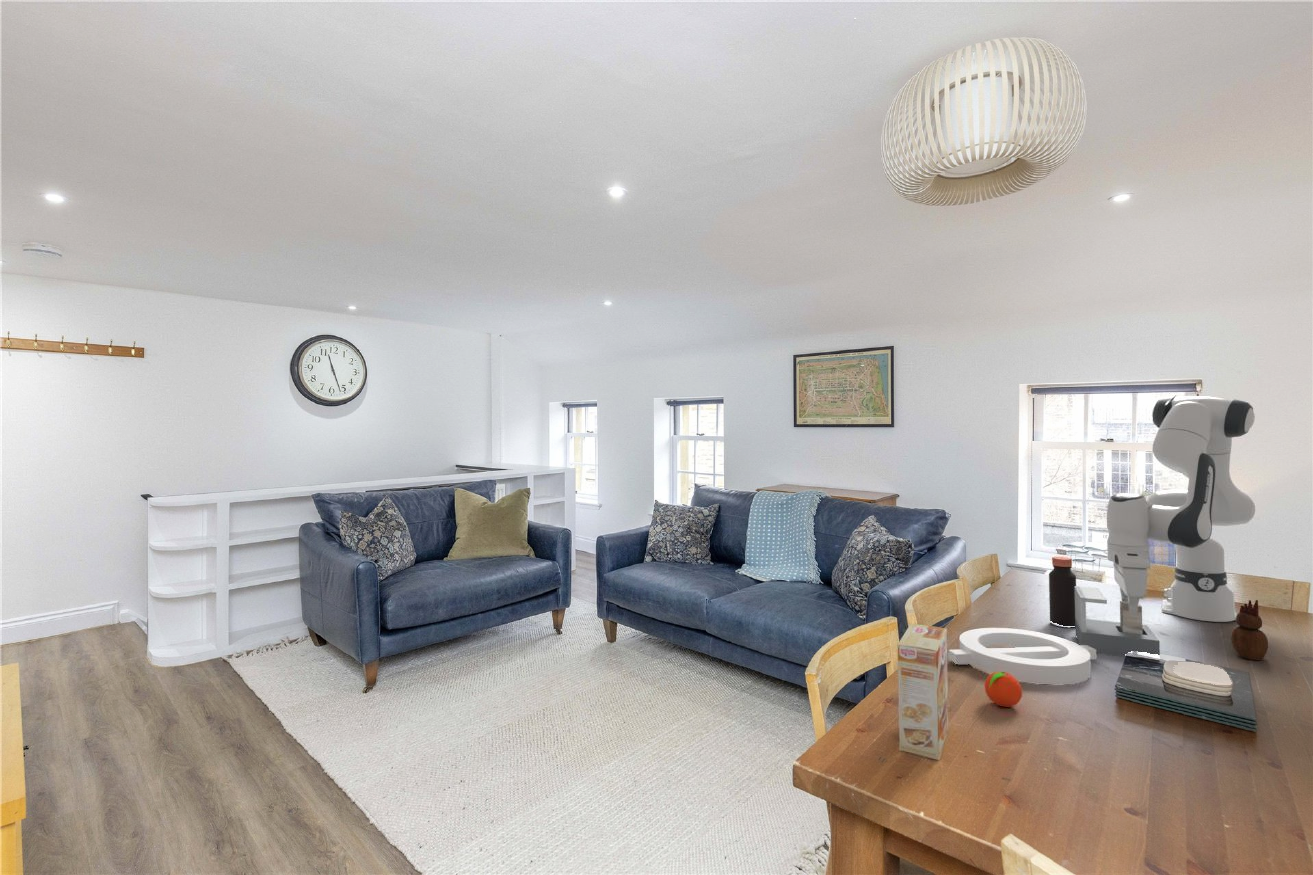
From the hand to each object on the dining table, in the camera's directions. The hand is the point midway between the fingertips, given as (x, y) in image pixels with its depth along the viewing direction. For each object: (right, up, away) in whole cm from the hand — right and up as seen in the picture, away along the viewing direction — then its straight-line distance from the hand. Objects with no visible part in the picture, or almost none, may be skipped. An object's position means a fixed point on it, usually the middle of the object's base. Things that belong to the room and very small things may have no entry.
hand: (1129, 607), depth 160 cm
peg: (0, -11, 0) cm, 11 cm away
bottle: (-3, -11, +21) cm, 24 cm away
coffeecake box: (-74, -12, -45) cm, 88 cm away
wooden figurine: (+24, -11, -8) cm, 28 cm away
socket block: (-3, -11, +1) cm, 12 cm away
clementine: (-52, -12, -32) cm, 62 cm away
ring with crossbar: (-33, -12, -8) cm, 36 cm away
